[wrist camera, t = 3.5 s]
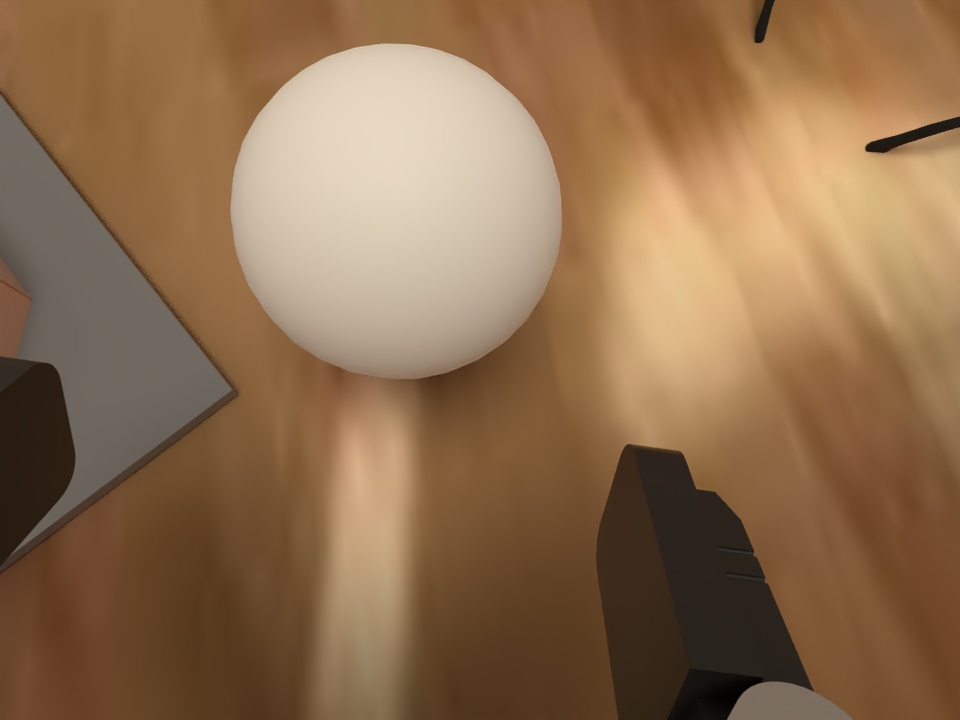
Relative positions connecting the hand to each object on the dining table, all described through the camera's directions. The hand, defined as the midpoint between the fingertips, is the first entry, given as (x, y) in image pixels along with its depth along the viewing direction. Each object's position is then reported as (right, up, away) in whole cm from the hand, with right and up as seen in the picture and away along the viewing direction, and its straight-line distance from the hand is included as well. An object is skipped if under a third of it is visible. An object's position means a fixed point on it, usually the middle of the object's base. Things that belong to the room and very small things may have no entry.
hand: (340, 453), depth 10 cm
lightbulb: (0, +2, +11) cm, 11 cm away
